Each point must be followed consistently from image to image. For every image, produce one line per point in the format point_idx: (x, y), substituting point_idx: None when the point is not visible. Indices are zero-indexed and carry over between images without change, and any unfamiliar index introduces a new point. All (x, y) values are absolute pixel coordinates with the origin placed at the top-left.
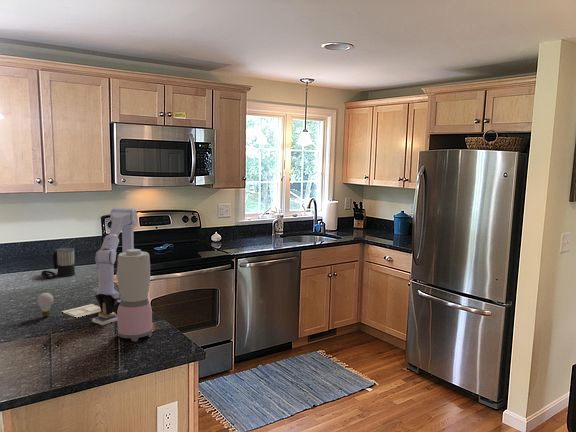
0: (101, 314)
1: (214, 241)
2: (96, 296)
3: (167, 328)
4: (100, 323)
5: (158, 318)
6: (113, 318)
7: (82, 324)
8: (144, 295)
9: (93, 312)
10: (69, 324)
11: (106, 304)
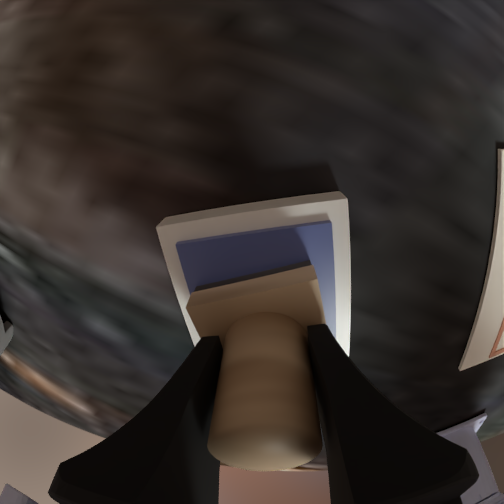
0: (266, 293)
1: None
2: (414, 491)
3: (18, 393)
4: (186, 217)
5: None
6: None
7: (320, 85)
8: None
9: (492, 290)
10: (396, 15)
11: (142, 421)
